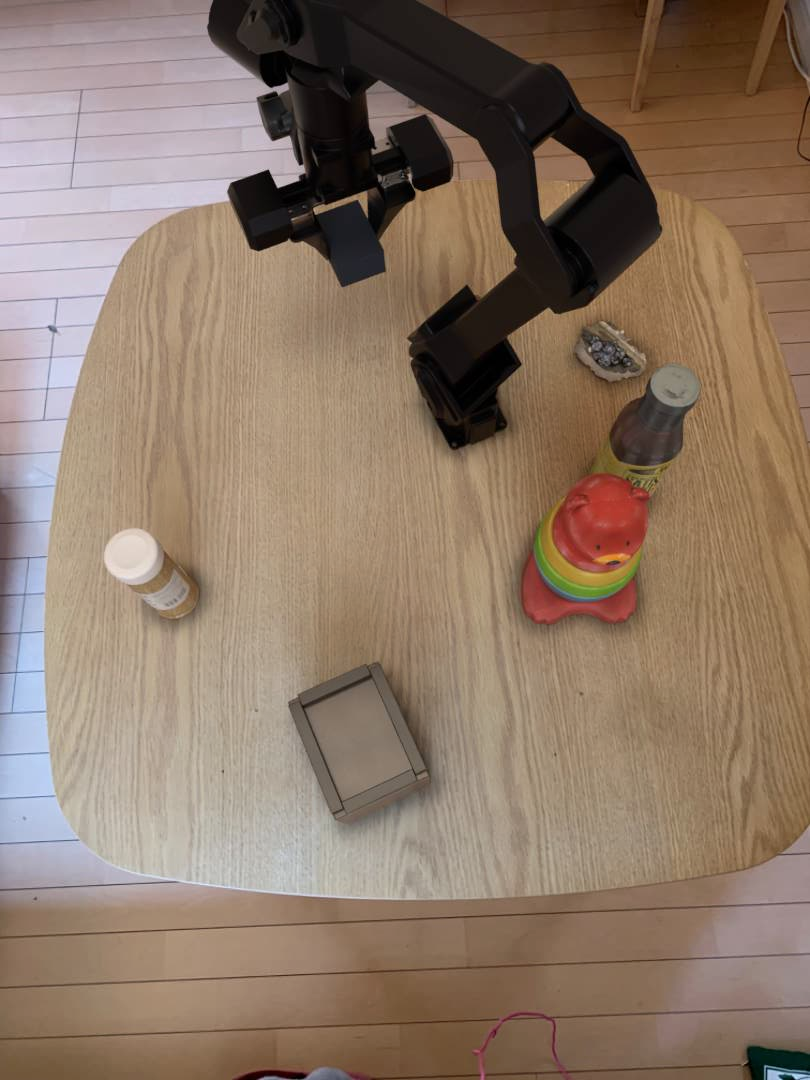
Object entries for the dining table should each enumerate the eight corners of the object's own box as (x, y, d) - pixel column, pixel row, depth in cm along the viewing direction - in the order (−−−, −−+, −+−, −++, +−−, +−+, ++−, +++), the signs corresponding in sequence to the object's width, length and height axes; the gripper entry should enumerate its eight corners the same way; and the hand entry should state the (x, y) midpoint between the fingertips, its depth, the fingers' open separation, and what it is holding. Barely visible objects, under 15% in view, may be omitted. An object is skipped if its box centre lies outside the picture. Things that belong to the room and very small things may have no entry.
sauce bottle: (606, 530, 83) (657, 437, 65) (573, 478, 85) (613, 374, 66) (663, 500, 84) (729, 401, 65) (629, 450, 86) (683, 339, 67)
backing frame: (305, 719, 78) (285, 699, 67) (384, 683, 79) (377, 658, 68) (347, 824, 74) (333, 820, 64) (430, 785, 75) (429, 775, 65)
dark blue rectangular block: (317, 237, 82) (313, 215, 79) (360, 221, 82) (357, 199, 80) (341, 288, 80) (338, 267, 77) (386, 271, 80) (384, 250, 77)
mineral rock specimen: (588, 315, 92) (591, 305, 90) (658, 343, 90) (663, 333, 88) (563, 364, 90) (566, 355, 88) (635, 393, 88) (639, 384, 86)
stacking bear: (522, 625, 80) (546, 566, 63) (516, 525, 84) (537, 444, 67) (637, 624, 80) (691, 564, 63) (627, 523, 83) (675, 441, 67)
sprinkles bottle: (190, 567, 83) (146, 517, 71) (206, 608, 82) (165, 563, 69) (146, 587, 83) (94, 540, 70) (162, 628, 81) (112, 587, 68)
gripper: (401, 6, 69) (408, 154, 84) (184, 79, 67) (230, 218, 82) (457, 99, 65) (454, 238, 80) (229, 180, 63) (268, 307, 78)
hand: (350, 247), depth 80 cm, fingers closed on dark blue rectangular block, 4 cm apart
